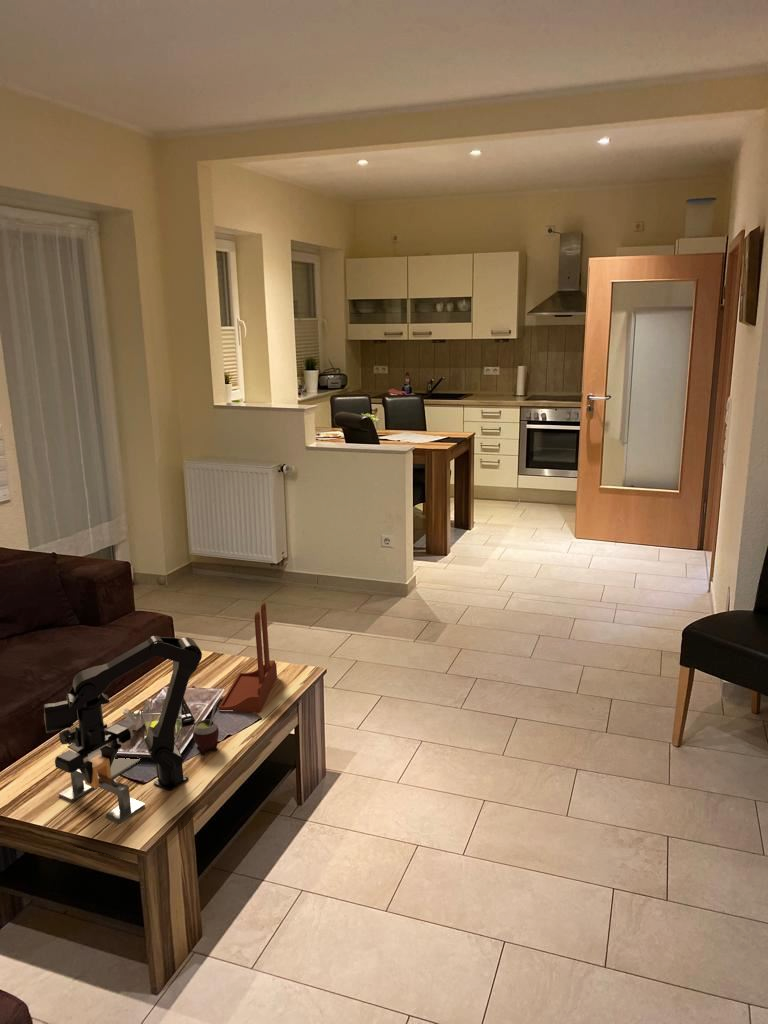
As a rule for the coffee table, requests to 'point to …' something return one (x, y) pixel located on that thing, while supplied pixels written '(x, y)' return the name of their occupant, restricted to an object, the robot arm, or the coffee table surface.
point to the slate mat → (117, 764)
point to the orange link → (99, 770)
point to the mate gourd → (207, 733)
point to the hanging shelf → (253, 676)
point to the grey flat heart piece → (132, 717)
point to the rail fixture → (121, 790)
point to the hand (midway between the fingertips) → (98, 777)
